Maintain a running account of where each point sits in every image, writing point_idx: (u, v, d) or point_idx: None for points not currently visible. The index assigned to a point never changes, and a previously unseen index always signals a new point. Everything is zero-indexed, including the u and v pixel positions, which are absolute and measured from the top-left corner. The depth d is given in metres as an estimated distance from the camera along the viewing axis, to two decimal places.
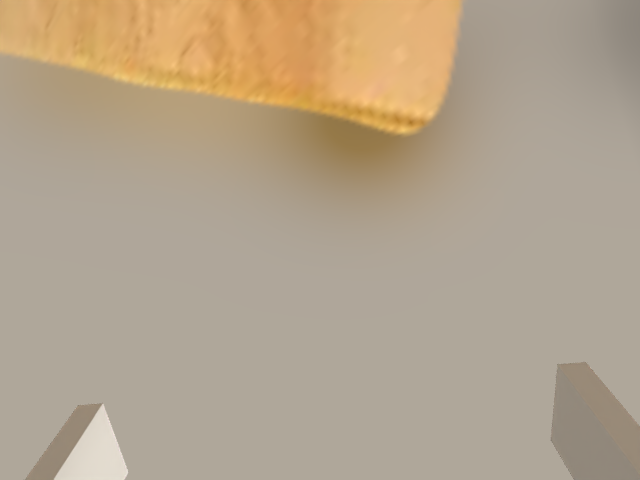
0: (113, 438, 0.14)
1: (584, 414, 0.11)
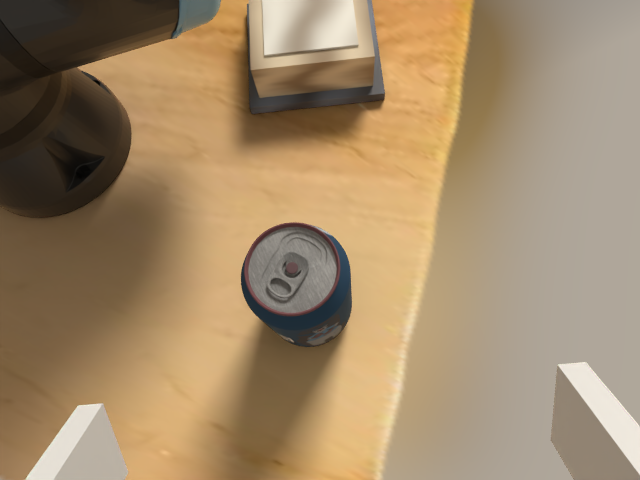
0: (113, 438, 0.14)
1: (584, 414, 0.11)
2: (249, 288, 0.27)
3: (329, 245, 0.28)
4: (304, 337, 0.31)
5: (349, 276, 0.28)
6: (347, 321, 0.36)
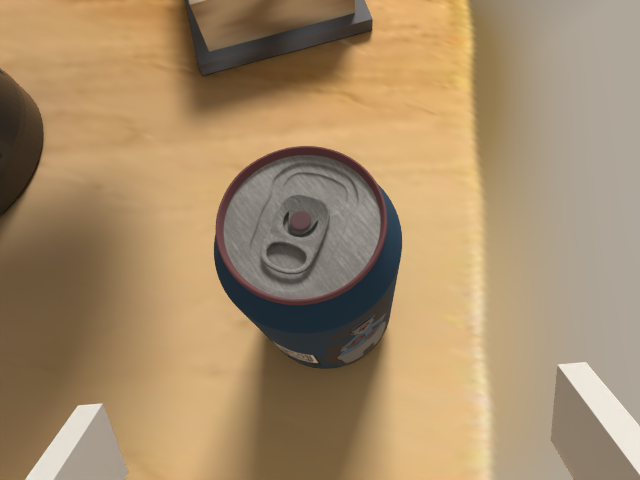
0: (113, 438, 0.14)
1: (584, 414, 0.11)
2: (230, 268, 0.15)
3: (357, 173, 0.16)
4: (336, 347, 0.19)
5: (398, 224, 0.17)
6: None
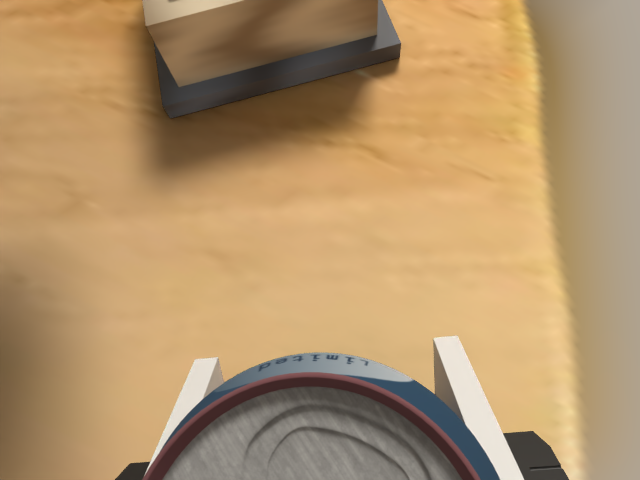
0: None
1: (444, 378, 0.13)
2: None
3: (435, 444, 0.07)
4: None
5: None
6: None
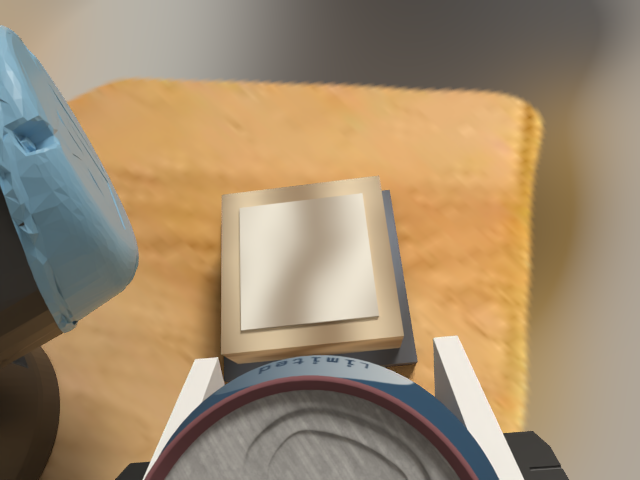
0: None
1: (444, 378, 0.13)
2: None
3: (436, 447, 0.07)
4: None
5: None
6: None
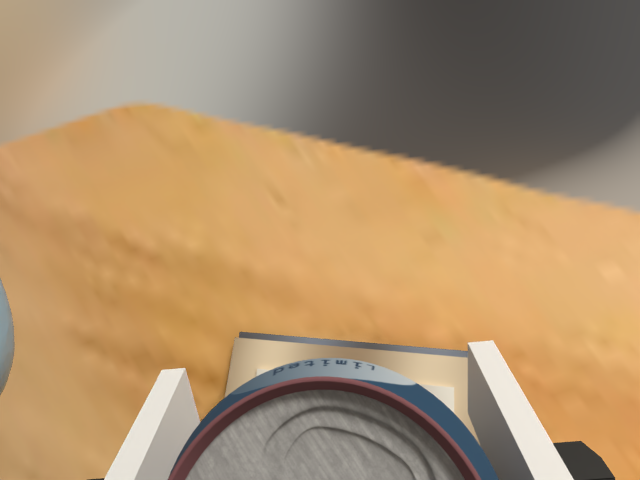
0: (192, 401, 0.15)
1: (483, 385, 0.13)
2: None
3: (437, 442, 0.08)
4: None
5: None
6: None
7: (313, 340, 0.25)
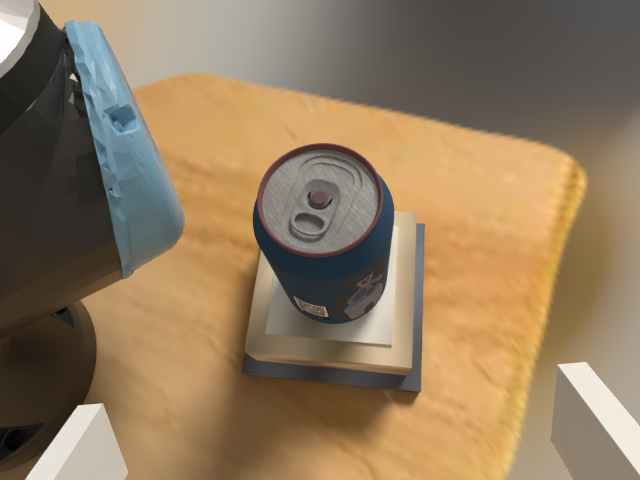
0: (113, 438, 0.14)
1: (584, 414, 0.11)
2: (268, 231, 0.20)
3: (361, 163, 0.21)
4: (344, 298, 0.24)
5: (392, 202, 0.22)
6: (385, 284, 0.30)
7: None
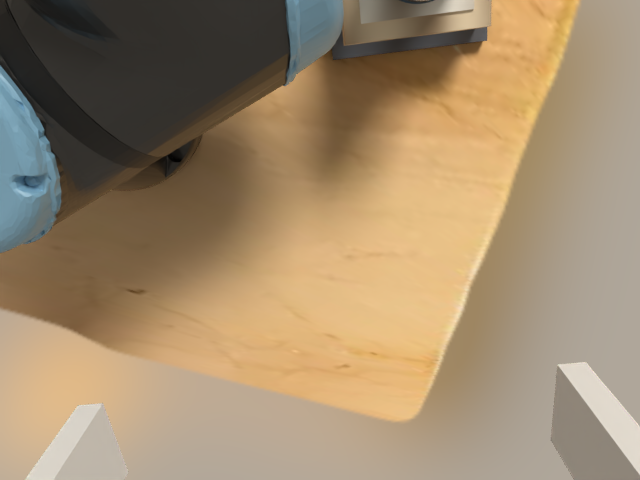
0: (113, 438, 0.14)
1: (584, 414, 0.11)
2: None
3: None
4: None
5: None
6: None
7: None
